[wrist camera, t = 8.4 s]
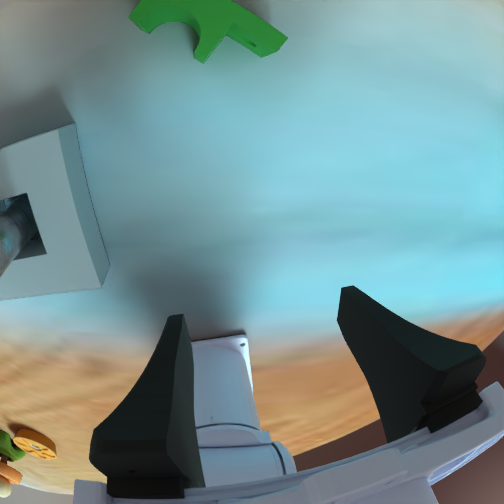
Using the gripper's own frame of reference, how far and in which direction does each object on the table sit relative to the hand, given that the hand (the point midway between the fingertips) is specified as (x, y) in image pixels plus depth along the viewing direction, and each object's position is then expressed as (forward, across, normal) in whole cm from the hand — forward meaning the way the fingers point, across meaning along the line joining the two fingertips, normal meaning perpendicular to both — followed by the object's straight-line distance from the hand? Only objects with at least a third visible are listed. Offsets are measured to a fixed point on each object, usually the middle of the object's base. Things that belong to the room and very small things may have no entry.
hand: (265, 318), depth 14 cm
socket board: (+10, +16, -4) cm, 19 cm away
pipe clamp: (+11, +2, -14) cm, 18 cm away
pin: (+10, +16, -4) cm, 19 cm away
